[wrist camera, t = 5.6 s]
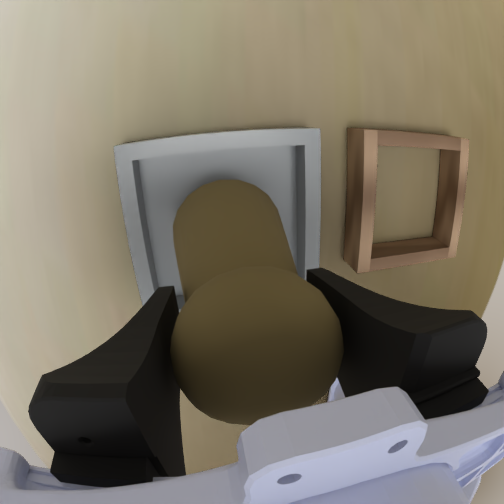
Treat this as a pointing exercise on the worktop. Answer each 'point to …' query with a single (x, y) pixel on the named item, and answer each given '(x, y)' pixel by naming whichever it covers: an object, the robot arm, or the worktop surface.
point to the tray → (209, 170)
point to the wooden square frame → (364, 196)
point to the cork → (247, 310)
